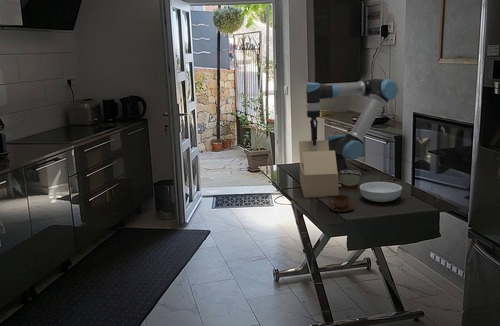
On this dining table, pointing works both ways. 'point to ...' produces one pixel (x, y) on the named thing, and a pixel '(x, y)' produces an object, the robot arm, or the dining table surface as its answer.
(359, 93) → the robot arm
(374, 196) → the serving bowl
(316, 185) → the carton
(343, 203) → the cup and saucer
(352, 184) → the food container
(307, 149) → the flap
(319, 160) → the flap
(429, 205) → the dining table surface
